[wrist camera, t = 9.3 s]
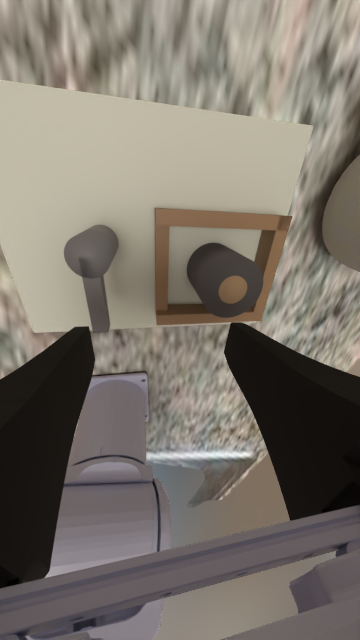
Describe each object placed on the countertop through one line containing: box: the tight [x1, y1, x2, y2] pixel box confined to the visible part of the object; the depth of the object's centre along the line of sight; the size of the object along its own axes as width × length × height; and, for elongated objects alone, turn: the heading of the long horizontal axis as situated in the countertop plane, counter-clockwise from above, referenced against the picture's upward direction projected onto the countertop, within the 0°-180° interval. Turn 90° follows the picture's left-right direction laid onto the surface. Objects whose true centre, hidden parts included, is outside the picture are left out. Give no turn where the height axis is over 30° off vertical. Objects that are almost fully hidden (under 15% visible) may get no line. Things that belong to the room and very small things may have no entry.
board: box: [0, 80, 313, 333], centre depth 14 cm, size 16×22×6 cm
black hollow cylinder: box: [187, 243, 263, 318], centre depth 16 cm, size 4×4×5 cm
